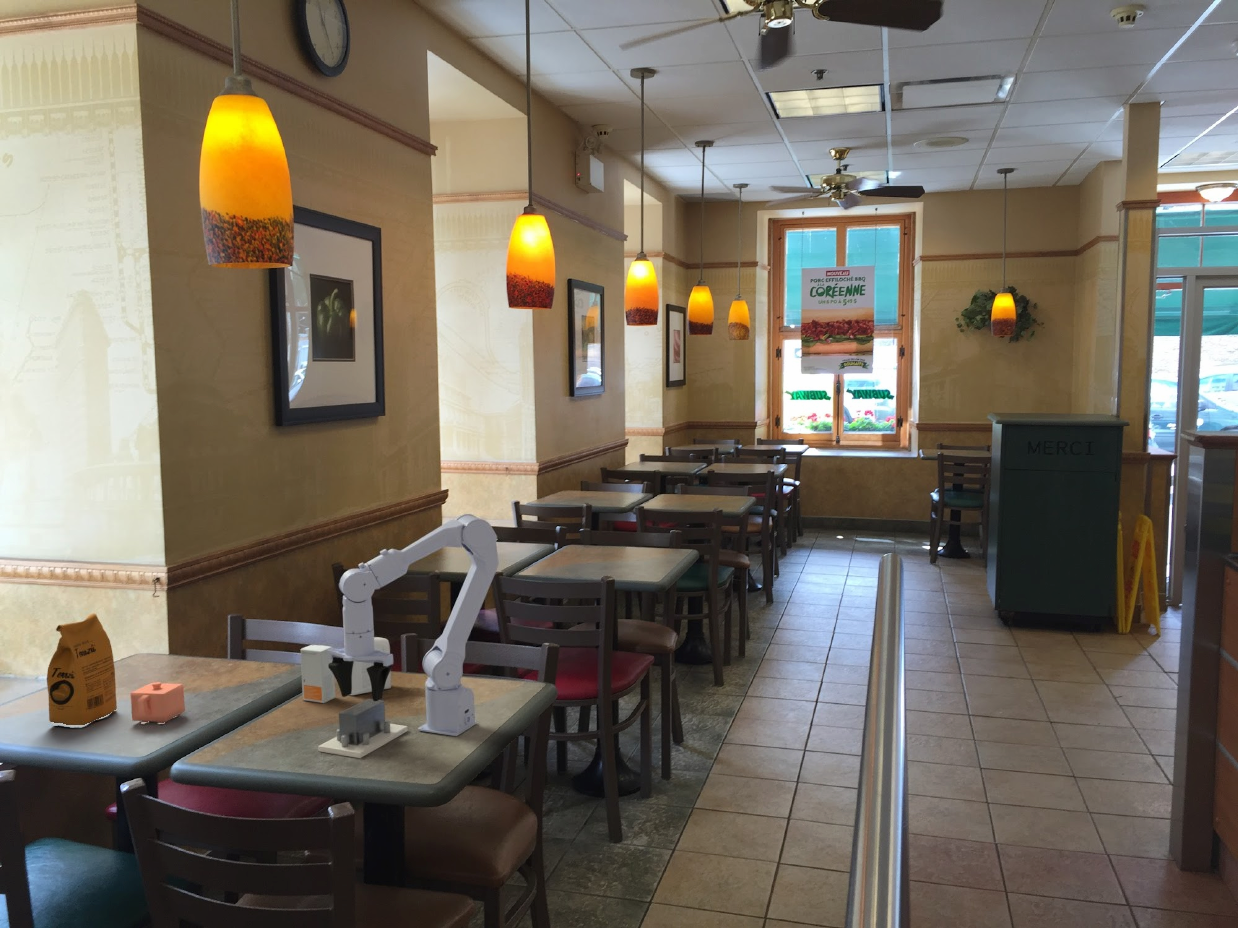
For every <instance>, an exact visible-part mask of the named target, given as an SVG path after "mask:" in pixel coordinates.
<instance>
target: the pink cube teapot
mask: <svg viewBox="0 0 1238 928" xmlns="http://www.w3.org/2000/svg"><path fill="white" fill-rule="evenodd" d="M129 694H130V708H131V720H132V721H134V722H138V721H139V722H148V721H149V722H157V724H158V723H164V722H166V723H167V722H168V721H170V720H172V718H173V717H175V716H178V715H180V714H182V713H184V712H186V706H185V703H186V702H185V692H184V684H183V683H167V682H166V683H162V681H156V682H150V683H148V684H146V685H143V686H142V687H140V688H138V689H136V690H134V691H132V692H130V693H129ZM173 719H174V718H173Z"/></svg>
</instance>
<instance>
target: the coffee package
mask: <svg viewBox="0 0 1238 928" xmlns="http://www.w3.org/2000/svg"><path fill="white" fill-rule="evenodd" d="M55 631H56V632H59V634H60V636H61V637H60V638H59V639H58V642H57V646H56V650H55V651H54V654H53V655H52V657H51V660H50V662H49V664H48V667H47V673H46V685H47V693H48V694H47V695H48V720H49V722H50V723H51V722H54V723H63V724H66V725H85V724H87V723H90V722H92V721H94V720H96V719H99V718H101V717H104V716H106V715H108V714H110V713H111V712H113V711H114V710H116V709H117V710H118V705H117V694H116V693H117V692H116V691H117V690H116V688H117V687H116V685H117V684H116V670H115V669H116V668H115V664H114V663H115V661H114V660H115V659H114V654H113V648H112V643H111V640H110V639H109V636H108V634H107V632H106V630H105V629H104V627H103V625H102V622H101V621H100V620H99V617H98V616H97V613H92V614H90V615H88V616H87V617H86V619H84V620H83V621H78V622H77V621H76V622H70V623H64V624H58V625H57V626H56V629H55ZM113 713H114V712H113ZM94 722H95V721H94ZM92 723H93V722H92Z"/></svg>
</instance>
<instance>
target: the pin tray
mask: <svg viewBox="0 0 1238 928" xmlns="http://www.w3.org/2000/svg"><path fill="white" fill-rule="evenodd" d="M335 731H336V736H335V737H333V738H331V739H329V740H327V741H326V742H324V743H321V744H320V745H318V746H317V747H318V748H317V749H318V750H317V751H318V752H321V753H328V754H333V755H338V756H346V757H350V758H357V759H362V758H364V756H365V757H366V755H368V754H370V753H371V752H374V751H375V750H377V749H379V748H380V747H382V746H384V745H386V744H388V743H389V742H391V741H393V740H395V739H396V738H399V737H400V736H401V735H403V734H404V733H407V732H408V726H407V725H402V724H397V723H396V724H395V723H391V722H390V721H385V722H384V731H382V732H380V733H379V734H377V735H375V736H373V737H371V738H370V739H369V733H364V734H363V742H362V743H361V744H359V745H357V746H356V745H350V744H348V735H343V736H341V741H342V743H340V728H337V729H336V730H335Z"/></svg>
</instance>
